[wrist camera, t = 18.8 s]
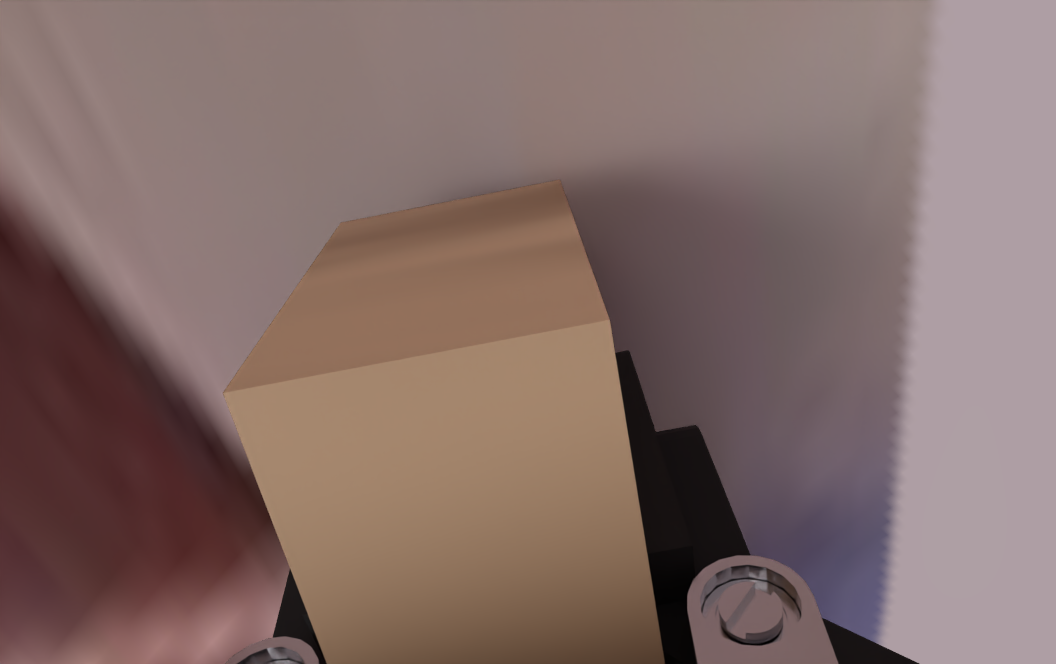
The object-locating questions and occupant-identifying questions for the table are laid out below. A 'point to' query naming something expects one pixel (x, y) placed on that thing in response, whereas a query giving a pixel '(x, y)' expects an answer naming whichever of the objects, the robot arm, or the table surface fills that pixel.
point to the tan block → (453, 442)
